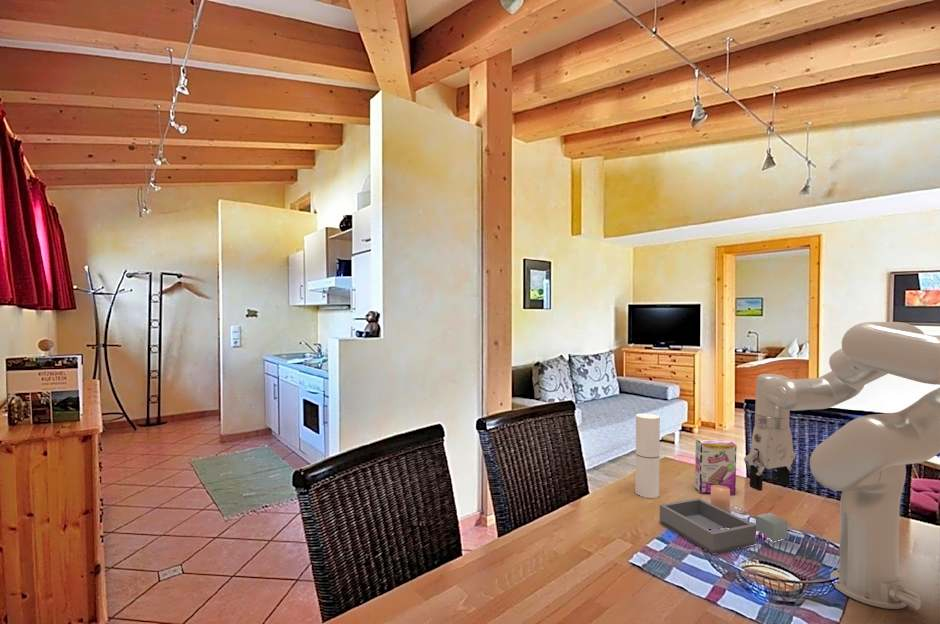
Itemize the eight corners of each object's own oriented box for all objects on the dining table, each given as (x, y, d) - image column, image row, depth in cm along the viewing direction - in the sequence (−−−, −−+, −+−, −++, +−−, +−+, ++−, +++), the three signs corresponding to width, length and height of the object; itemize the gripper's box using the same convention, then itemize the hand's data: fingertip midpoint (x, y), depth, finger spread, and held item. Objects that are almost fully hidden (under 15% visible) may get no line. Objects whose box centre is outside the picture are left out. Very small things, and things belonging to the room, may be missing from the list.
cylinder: (733, 514, 137) (734, 490, 136) (720, 516, 135) (720, 492, 135) (719, 507, 141) (719, 483, 141) (706, 509, 140) (706, 486, 140)
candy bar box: (700, 494, 151) (700, 443, 151) (694, 488, 156) (694, 438, 156) (736, 495, 150) (737, 444, 150) (729, 489, 155) (730, 439, 155)
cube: (787, 540, 121) (787, 520, 121) (773, 543, 120) (773, 523, 120) (769, 531, 126) (769, 512, 126) (755, 534, 124) (755, 515, 124)
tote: (755, 545, 118) (755, 525, 118) (712, 554, 114) (713, 534, 114) (698, 515, 135) (699, 498, 135) (659, 522, 131) (659, 504, 131)
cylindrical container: (635, 496, 149) (636, 417, 149) (634, 488, 156) (635, 412, 156) (660, 499, 147) (660, 419, 147) (658, 490, 154) (658, 414, 153)
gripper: (760, 428, 116) (758, 496, 117) (809, 422, 122) (807, 487, 123) (734, 420, 124) (732, 485, 124) (781, 415, 129) (779, 477, 130)
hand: (769, 486), depth 124 cm, fingers open, 9 cm apart
